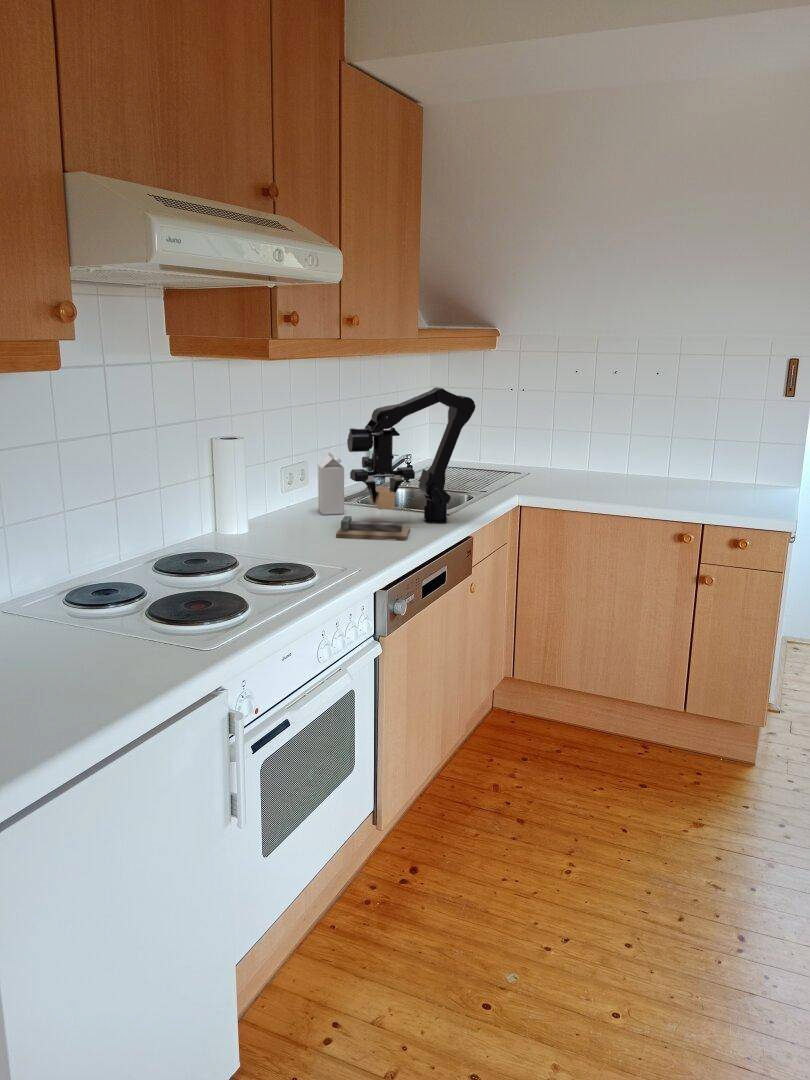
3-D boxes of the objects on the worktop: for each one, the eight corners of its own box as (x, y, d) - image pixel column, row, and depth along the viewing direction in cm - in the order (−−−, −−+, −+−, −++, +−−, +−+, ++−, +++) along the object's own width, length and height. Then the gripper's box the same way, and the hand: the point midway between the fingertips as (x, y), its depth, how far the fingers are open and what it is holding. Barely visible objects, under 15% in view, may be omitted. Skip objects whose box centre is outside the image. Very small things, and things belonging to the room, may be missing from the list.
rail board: (410, 530, 247) (410, 516, 246) (406, 540, 235) (406, 526, 234) (342, 527, 248) (342, 514, 247) (336, 537, 237) (335, 523, 236)
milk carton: (322, 515, 264) (321, 455, 259) (318, 510, 271) (317, 452, 266) (344, 514, 266) (344, 454, 261) (340, 509, 272) (339, 451, 268)
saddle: (385, 502, 258) (385, 486, 256) (394, 508, 249) (395, 492, 248) (369, 503, 256) (369, 487, 255) (378, 509, 248) (379, 492, 247)
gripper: (403, 446, 259) (402, 495, 263) (345, 448, 253) (345, 498, 257) (415, 451, 249) (414, 502, 253) (355, 453, 243) (355, 506, 247)
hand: (382, 502), depth 252 cm, fingers closed on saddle, 5 cm apart
